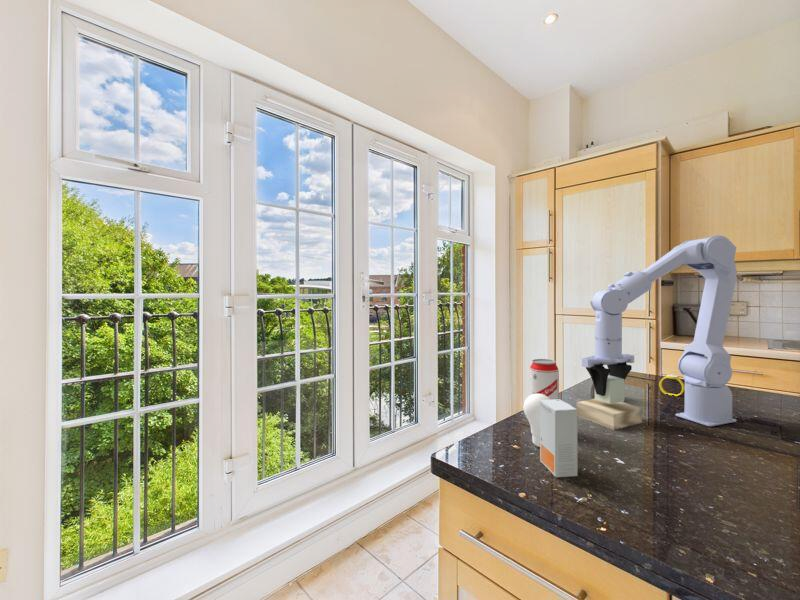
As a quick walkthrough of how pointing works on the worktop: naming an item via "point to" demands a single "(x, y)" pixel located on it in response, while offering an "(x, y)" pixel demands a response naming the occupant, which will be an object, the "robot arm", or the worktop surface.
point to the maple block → (609, 413)
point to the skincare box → (558, 437)
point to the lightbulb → (534, 415)
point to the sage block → (613, 390)
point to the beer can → (544, 378)
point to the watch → (671, 378)
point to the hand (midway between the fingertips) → (608, 393)
